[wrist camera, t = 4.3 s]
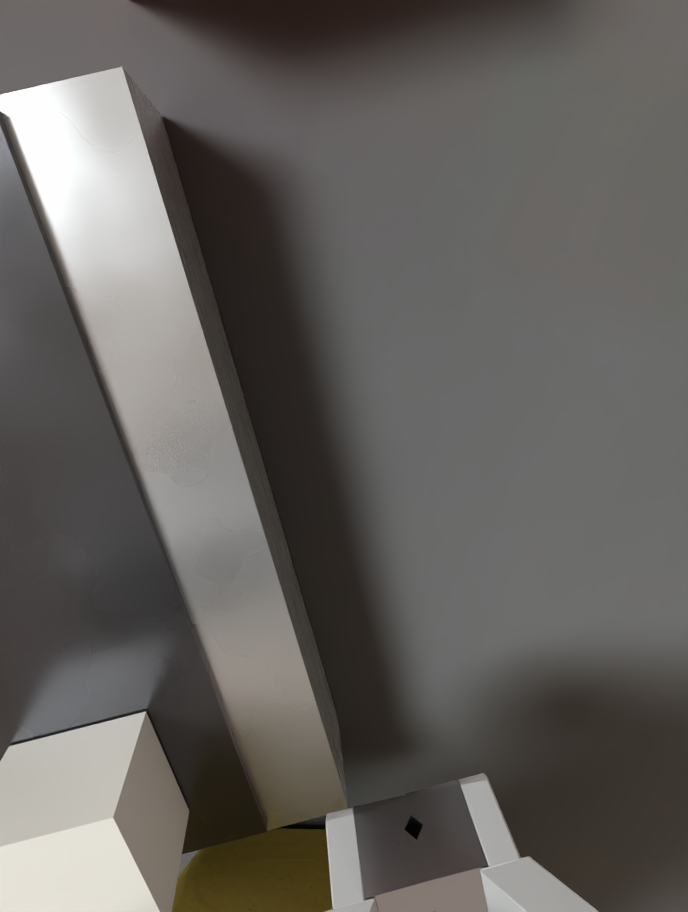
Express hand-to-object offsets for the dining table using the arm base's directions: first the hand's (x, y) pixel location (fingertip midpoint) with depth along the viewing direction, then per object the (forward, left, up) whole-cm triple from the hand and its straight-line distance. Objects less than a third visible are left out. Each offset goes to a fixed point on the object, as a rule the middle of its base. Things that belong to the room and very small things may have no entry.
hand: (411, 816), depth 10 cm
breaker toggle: (+6, 0, -3) cm, 7 cm away
